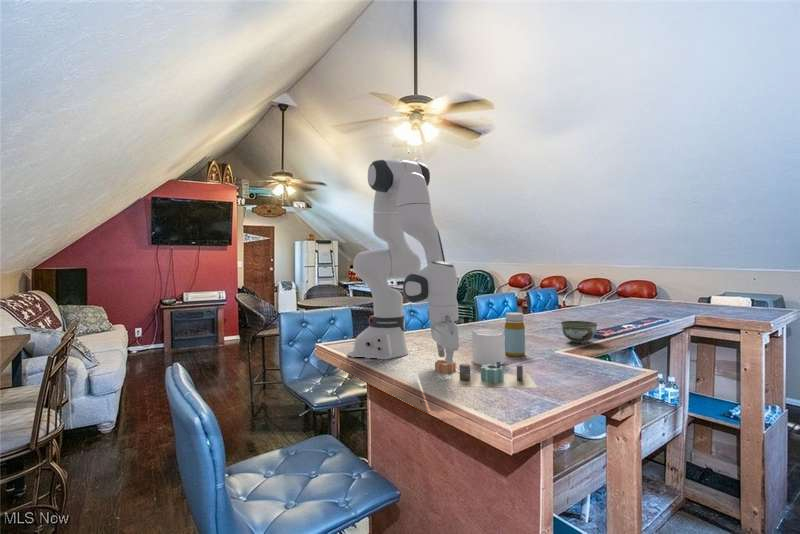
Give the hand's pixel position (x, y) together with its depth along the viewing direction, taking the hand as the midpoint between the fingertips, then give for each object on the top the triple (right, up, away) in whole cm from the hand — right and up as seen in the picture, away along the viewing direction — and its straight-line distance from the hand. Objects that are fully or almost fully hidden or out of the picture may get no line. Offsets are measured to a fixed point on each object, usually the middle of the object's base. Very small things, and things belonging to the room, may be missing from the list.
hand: (445, 360), depth 117 cm
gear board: (+12, -5, -9) cm, 16 cm away
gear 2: (+12, -3, -9) cm, 16 cm away
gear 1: (0, -5, +1) cm, 5 cm away
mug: (+16, -4, +12) cm, 20 cm away
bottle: (+28, -4, +23) cm, 36 cm away
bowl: (+59, -3, +41) cm, 72 cm away
